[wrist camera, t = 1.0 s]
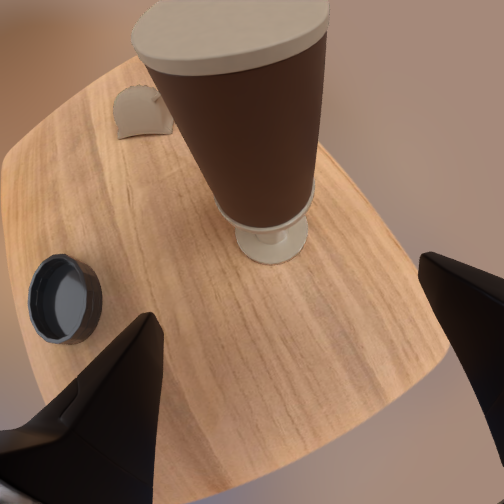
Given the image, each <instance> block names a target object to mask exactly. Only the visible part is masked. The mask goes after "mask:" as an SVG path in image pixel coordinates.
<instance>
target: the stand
mask: <svg viewBox="0 0 504 504" xmlns="http://www.w3.org/2000/svg"><path fill="white" fill-rule="evenodd" d="M314 191H315V179H314V178H313V186H312V192H311V196H310V198H309V201H308V202H307V204H306V206H305V207H304V208H303V210H302V211H301V212H300V213H299V214H298V215H297V216H295V217H294V218H293V219H291V220H289V221H288V222H286V223H283V224H281V225H278V226H274V227H268V228H255V227H249V226H245V225H243V224H240V223H238V222H236V221H234V220H233V219H231V218H230V217H229V216H228V215H227V214H226V213H225V212H224V211H223V210H222V209H221V207H220V205H219V204H218V202H217V200H216V198H215V196H214V194H213V196H214V200H215V203H216V205H217V207H218V209H219V211H220V213H221V214H222V216H223V217H224V218H225V219H226V220H227V221H228V222H229V223H230V224H232V225H233V226H234V227H235V236H236V240H237V243H238V245H239V247H240V248H241V250H242V251H243V253H244V254H245V255H246V256H247V257H249V258H250V259H252V260H253V261H255V262H257V263H260V264H264V265H278V264H282V263H285V262H288V261H289V260H291V259H293V258H294V257H295V256H296V255H298V254H299V252H300V251H301V250H302V248H303V247H304V245H305V243H306V240H307V236H308V222H307V218H306V216H305V214H306V213H307V211H308V210H309V208H310V206H311V204H312V201H313V197H314Z"/></svg>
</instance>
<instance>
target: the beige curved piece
mask: <svg viewBox="0 0 504 504" xmlns="http://www.w3.org/2000/svg"><path fill="white" fill-rule="evenodd" d="M113 115H114V120H115V123H116V125H117V127H118V139H121V138H125V137H129V136H134V135H140V134H172V130H173V122H174V119H173V117H172V115H171V114H170V112H169V110H168V108H167V106H166V104H165V102H164V100H163V98H162V97H161V95H160V93H159V91H157V90H156V89H155V88H153V87H152V88H151V87H148V86H147V85H144V86H141V85H137V86H130V87H129V88H126V89H125V90H123V91H122V92H120V93H119V94H118V95H117V97H116V99H115V101H114V106H113Z"/></svg>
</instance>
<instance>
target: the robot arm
mask: <svg viewBox="0 0 504 504" xmlns="http://www.w3.org/2000/svg"><path fill="white" fill-rule="evenodd" d="M418 279H419V282H420V284H421V286H422V288H423V290H424V292H425V294H426V297H427V299H428V301H429V303H430V305H431V308H432V310H433V312H434V314H435V316H436V318H437V320H438V322H439V323H440V325H441V327H442V329H443V331H444V332H445V334H446V336H447V338H448V340H449V342H450V343H451V345H452V347H453V349H454V351H455V353H456V355H457V357H458V359H459V361H460V363H461V364H462V366H463V369H464V371H465V373H466V375H467V377H468V379H469V381H470V383H471V386H472V388H473V390H474V392H475V394H476V397H477V399H478V401H479V404H480V406H481V408H482V411H483V413H484V415H485V418H486V421H487V423H488V426H489V429H490V431H491V434H492V437H493V439H494V442H495V445H496V447H497V451H498V453H499V457H500V459H501V463H502V465H503V467H504V279H503V278H500V277H498V276H495V275H493V274H490V273H488V272H485V271H483V270H480V269H477V268H475V267H472V266H469V265H467V264H464V263H461V262H459V261H456V260H454V259H451V258H448V257H445V256H443V255H440V254H437V253H434V252H427V253H423V254H421V256H420V260H419V270H418ZM163 351H164V333H163V330H162V328H161V326H160V324H159V322H158V320H157V318H156V316H155V315H154V313H152V312H147V313H142V314H140V315H139V316H138V317H137V318H136V319H135V320H134V321H133V322H132V323H131V324H130V325H129V326H127V327H126V328H125V329H124V330H123V331H122V332H121V333H120V334H119V335H118V336H117V337H116V338H115V339H114V340H113V341H112V342H111V343H110V344H109V345H108V346H107V347H106V348H105V349H104V350H103V351H102V352H101V353H100V354H99V355H98V356H97V357H96V358H95V359H94V360H93V361H92V362H91V363H90V364H89V365H88V366H87V367H86V368H85V369H84V370H83V371H82V372H81V373H80V374H79V375H78V376H77V378H75V379H74V380H73V381H72V382H71V383H70V384H69V385H68V386H67V387H66V388H65V389H64V390H63V391H62V392H61V393H60V394H59V395H58V396H57V397H56V398H54V399H53V400H52V401H51V402H50V403H49V404H48V405H47V406H46V407H44V408H43V409H42V410H41V411H40V412H39V413H38V414H37V415H35V416H34V417H33V418H32V419H31V420H30V421H29V422H27V423H26V424H25V425H23V426H22V427H19V428H16V429H12V430H3V431H0V504H152V502H153V488H152V487H153V477H154V461H155V447H156V435H157V425H158V414H159V405H160V396H161V388H162V379H163ZM498 504H504V500H502V501H501V502H499V503H498Z"/></svg>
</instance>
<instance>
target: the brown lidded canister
mask: <svg viewBox="0 0 504 504" xmlns="http://www.w3.org/2000/svg"><path fill="white" fill-rule="evenodd" d="M329 13H330V5H329V3H328V0H161V1H159V2H157V3H156V4H155V5H153V6H152V7H151V8H149V9H148V10H147V11H146V12H145V13H144V14H143V15H142V16H141V17H140V18H139V20H138V21H137V23H136V24H135V26H134V28H133V31H132V34H131V43H132V45H133V47H134V49H135V51H136V53H137V55H138V57H139V59H140V60H141V61H142V62H143V63H144V64H145V66H146V68H147V70H148V72H149V74H150V76H151V78H152V79H153V81H154V83H155V85H156V87H157V89H158V91H159V93H160V95H161V97H162V98H163V100H164V102H165V104H166V106H167V108H168V110H169V112H170V114H171V115H172V117H173V119H174V121H175V123H176V125H177V127H178V129H179V131H180V132H181V134H182V136H183V138H184V140H185V142H186V144H187V146H188V147H189V149H190V151H191V153H192V155H193V157H194V159H195V161H196V162H197V164H198V166H199V168H200V170H201V172H202V174H203V176H204V177H205V179H206V181H207V183H208V185H209V187H210V189H211V190H212V192H213V194H214V196H215V198H216V200H217V202H218V204H219V205H220V207H221V209H222V210H223V211H224V212H225V213H226V214H227V215H228V216H229V217H230V218H231V219H233V220H234V221H236V222H238V223H240V224H243V225H245V226H249V227H255V228H268V227H274V226H278V225H281V224H283V223H286V222H288V221H289V220H291V219H293V218H294V217H295V216H297V215H298V214H299V213H300V212H301V211H302V210H303V208H304V207H305V206H306V204H307V202H308V201H309V198H310V196H311V192H312V186H313V178H314V170H315V162H316V153H317V144H318V134H319V125H320V115H321V105H322V94H323V82H324V69H325V53H326V38H327V28H328V25H329V15H330V14H329Z"/></svg>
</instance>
